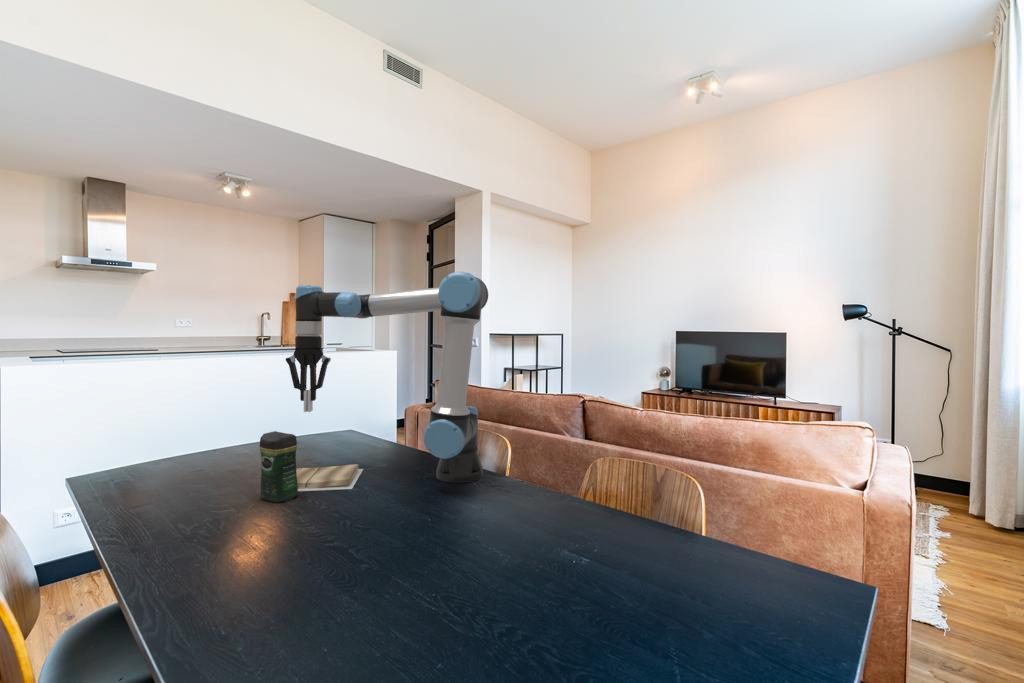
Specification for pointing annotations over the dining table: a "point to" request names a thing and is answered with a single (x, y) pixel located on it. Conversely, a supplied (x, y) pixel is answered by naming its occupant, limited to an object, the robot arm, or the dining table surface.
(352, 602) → the dining table surface
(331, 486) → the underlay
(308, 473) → the laid section
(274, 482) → the coffee jar
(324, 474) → the plank
